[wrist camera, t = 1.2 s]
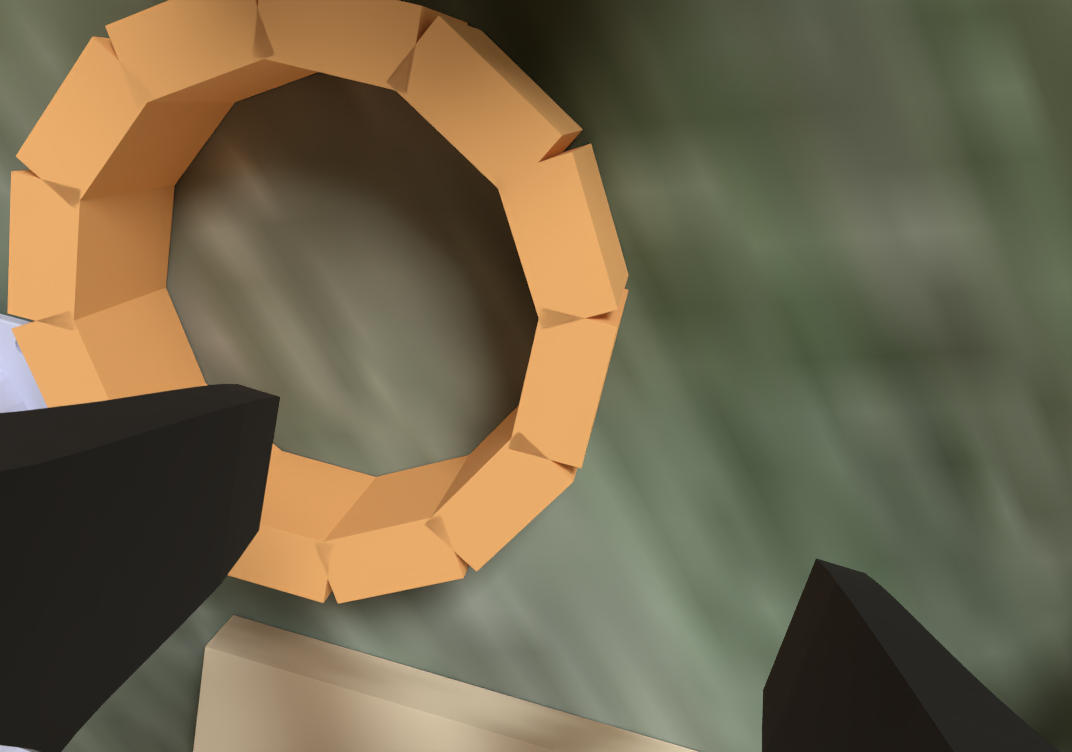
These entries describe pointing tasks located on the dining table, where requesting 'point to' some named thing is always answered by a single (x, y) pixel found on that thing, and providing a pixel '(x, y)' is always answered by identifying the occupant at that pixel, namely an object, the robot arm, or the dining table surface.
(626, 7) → the dining table surface
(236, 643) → the peg board
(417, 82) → the faceted orange ring
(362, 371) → the dining table surface
